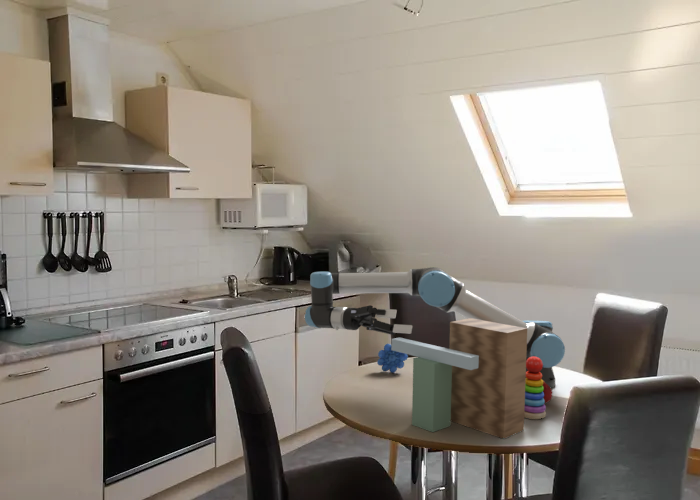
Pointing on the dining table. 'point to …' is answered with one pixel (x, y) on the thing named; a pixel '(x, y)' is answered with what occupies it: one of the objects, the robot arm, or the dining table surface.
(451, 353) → the rod
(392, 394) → the dining table surface
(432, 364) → the post
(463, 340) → the stand
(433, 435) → the dining table surface
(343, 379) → the dining table surface
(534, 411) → the stacking toy
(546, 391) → the onion
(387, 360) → the blue bumpy round piece
